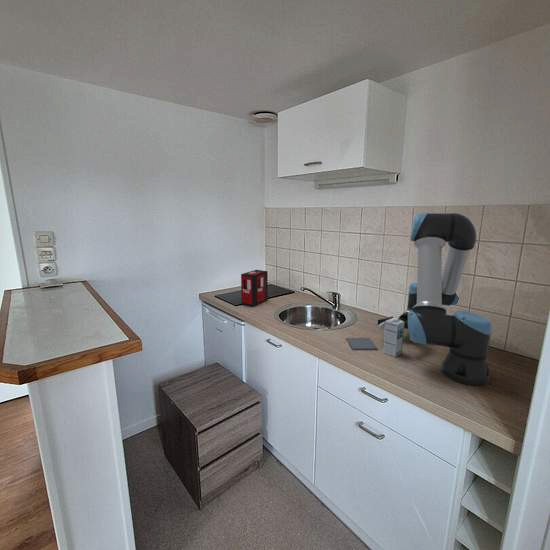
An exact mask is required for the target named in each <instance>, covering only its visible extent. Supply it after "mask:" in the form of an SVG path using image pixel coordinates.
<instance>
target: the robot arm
mask: <svg viewBox="0 0 550 550" xmlns="http://www.w3.org/2000/svg"><path fill="white" fill-rule="evenodd" d="M409 237H410V241H411V242H413V243H414V244H413V245H414V247H415V248H417V274H416V275H417V276H416V277H417V280H416V281H417V282H412V283H410V284H409V290H408V297H407V298H408V299H407V306H406V311H404V312H403V313H402V314H401V315H400V316H399V317H398V318H397V319H399V320H402V321H404V330H405V329H406V330H408V335H409V341H412V342H413V343H416V344H422V345H430V346H438V347H443V348H444V347H446V348H449V351H448V353H447V355H446V357H445V358H444V360H443V361H442V364H441V372H442V374H444V375H445V376H446V377H447V378H449V379H451V380H453V381H455V382H458V383H460V384H463V385H469V386H475V387H476V386H479V387H480V386H485V385H487V384H489V382H490V379H491V378H490V377H491V376H490V370H489V365H488V361H487V358H488V353H489V346H490V340H491V336H492V323H491V321H490V320H489V319H488V318H486V317H485V316H483V315H479V314H477V313H473V312H470V311H465V310H457V311H455V312H454V313H453V315H450V314H447V309H446V308H445V307H444V306H448V307H451V306H450V305H455V304H457V303H458V300H459V297H458V296H457V294H456V291H458V287H459V284H460V282H461V279H462V276H463V272H464V270H465V267H466V264H467V262H468V261H467V260H468V258H469V256H470V255H469V254H470V251H472V250H473V249H474V248H475V245H476V242H477V232H476V228H475V226H474V223H473V222H472V221H471V220H470V219H469V218H468V217H467V216H466V215H463V214H461V213H458V212H457V213H456V212H452V213H448V212H447V213H441V212H440V213H437V212H436V213H433V212H430V213H429V212H425V213H423V212H422V213H417V214H416V215H415V216H414V220H413V224H412V228H411V233H410V236H409ZM447 244H448V246H449V248H448V253H447V256H446V260H445V264H444V267H442V261H443V260H442V259H443V258H442V254H443V253H442V252H443V250H442V248H444V247H445V246H446V245H447ZM442 269H443V271H442ZM392 318H395V317H394V316H390V317H386V318H381V319H377V332H378V333H380V332H381V331H382V330H385V321H387V320H389V319H392Z"/></svg>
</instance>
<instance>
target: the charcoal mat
mask: <svg viewBox="0 0 550 550" xmlns="http://www.w3.org/2000/svg"><path fill="white" fill-rule="evenodd" d="M345 340H346V342H347V343H348V345H349V347H350V349H351V350H352V351H378V347H377V346H376V344H375V343H374V341H373V340H372V339H371V338H370V337H346V338H345Z"/></svg>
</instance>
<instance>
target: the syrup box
mask: <svg viewBox="0 0 550 550" xmlns="http://www.w3.org/2000/svg"><path fill="white" fill-rule="evenodd" d="M404 332H405V328H404V321H402V320H399V319H398V318H395V317H394V318H392V319H389V320H387V321H385V327H384V334H383V348H382V349H383V350H382V352H383V353H385V354H386V355H387V354H388V355H390V356H392V357H394V358H395V357H397V356H399V355H400V354H402V353H403V347H404V346H403V343H404V335H405V334H404Z"/></svg>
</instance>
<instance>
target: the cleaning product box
mask: <svg viewBox="0 0 550 550" xmlns="http://www.w3.org/2000/svg"><path fill="white" fill-rule="evenodd" d="M240 283H241V284H240V286H241V288H240V289H241V306H246V307H250V308H254V307H257V306H259V305H261V304H263V303H265V302H268V300H269V299H268V298H269V297H268V296H269V295H268V292H269V291H268V288H269V287H268V270H263V269H262V270H261V269H255V270H254V269H253V270H251V271H248V272H247V271H246V272H243V273H241V274H240Z"/></svg>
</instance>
